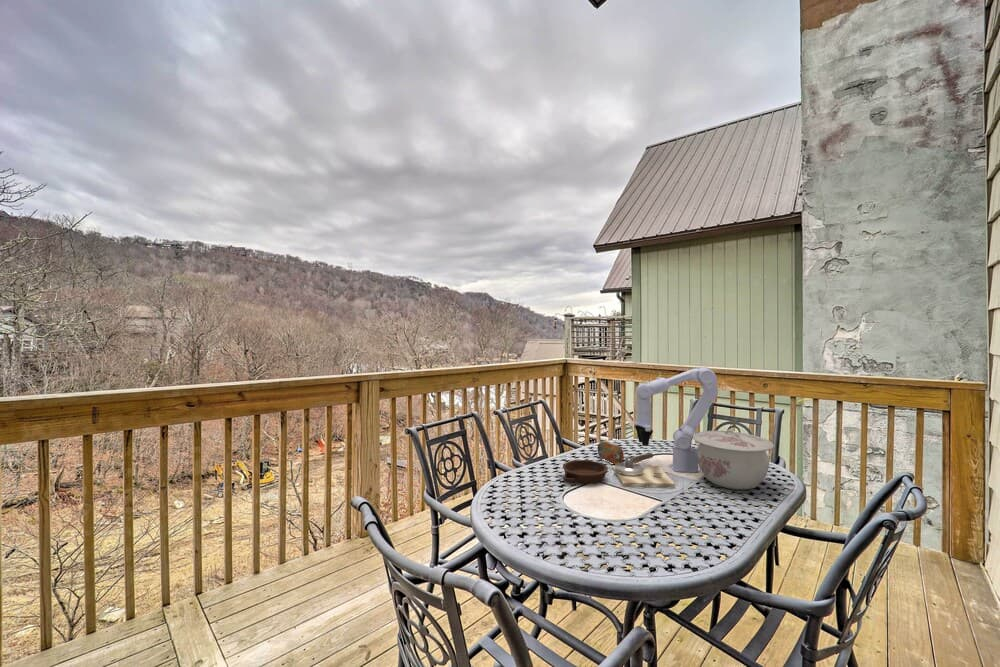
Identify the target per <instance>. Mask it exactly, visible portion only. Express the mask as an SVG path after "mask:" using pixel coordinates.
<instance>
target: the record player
mask: <svg viewBox="0 0 1000 667" xmlns="http://www.w3.org/2000/svg"><path fill="white" fill-rule="evenodd" d="M642 466H643V474H642V475H639V476H627V475H622V474H619V473H617V472H616V471H615V465H613V464H612V470H614V471H613V472H614V474H615V473H616V474H615V476H616V475H617V476H616V477H617V479H618V480H620V481H619V482H620V484H621V485H622V487H623V486H624V488H626V486H627V488H631V487H632V488H667V487H675V486H676V484H675V482H674V481H673V480H672V479H671V478H670V477H669V475H667V474H666V473H665V471H664V470H663V469H662V468H661V467H660V466H658V465H642ZM647 486H648V487H647ZM653 486H655V487H653Z"/></svg>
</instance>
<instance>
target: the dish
mask: <svg viewBox="0 0 1000 667" xmlns="http://www.w3.org/2000/svg"><path fill="white" fill-rule="evenodd" d="M562 469H563V470H564V473H565V474H564V476H563V481H564V483H567V484H573V483H574V484H575V483H576V484H578V483H580V485H595V484H598V483H601V482H602V481H604V478H606V477H605V476H606V473H607V472H608V470H609V468H608V466H607V465H606V464H604V463H602V462H599V461H593V460H587V459H574V460H569V461H567V462H564V464H562Z"/></svg>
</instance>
